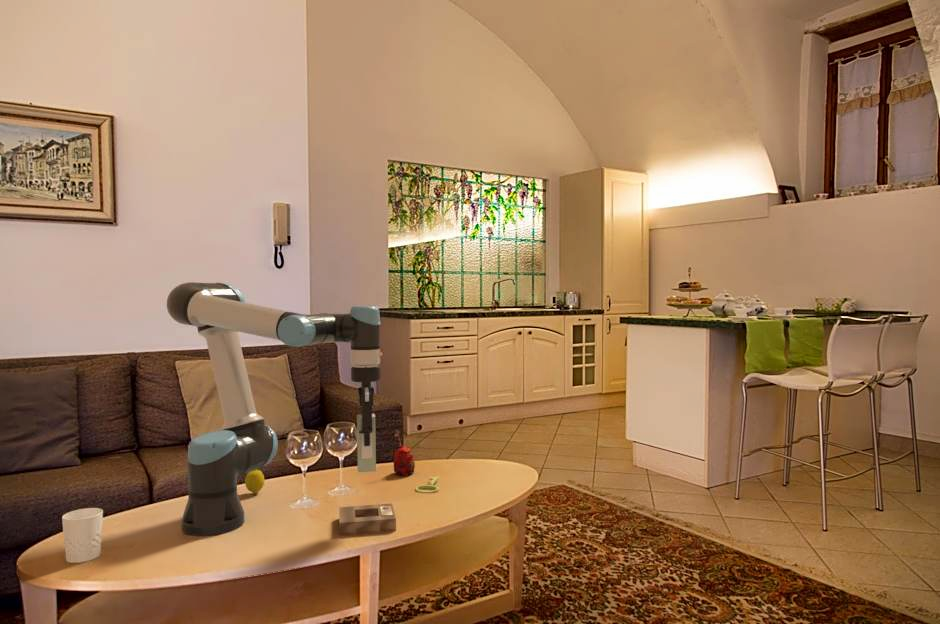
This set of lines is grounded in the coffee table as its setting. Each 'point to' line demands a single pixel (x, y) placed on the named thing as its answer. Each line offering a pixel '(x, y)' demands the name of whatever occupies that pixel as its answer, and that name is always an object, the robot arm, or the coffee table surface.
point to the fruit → (254, 481)
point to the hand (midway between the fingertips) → (366, 455)
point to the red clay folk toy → (403, 460)
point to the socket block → (366, 519)
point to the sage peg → (366, 463)
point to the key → (428, 486)
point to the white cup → (82, 534)
